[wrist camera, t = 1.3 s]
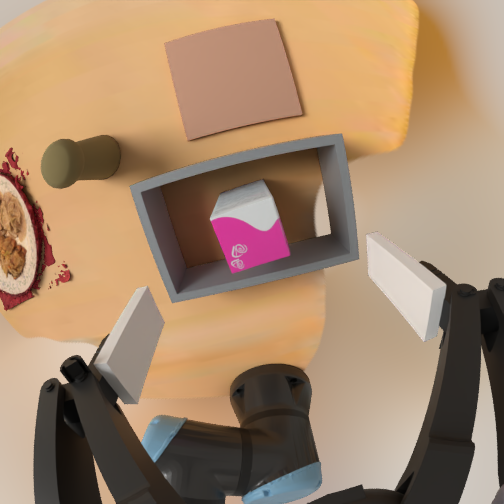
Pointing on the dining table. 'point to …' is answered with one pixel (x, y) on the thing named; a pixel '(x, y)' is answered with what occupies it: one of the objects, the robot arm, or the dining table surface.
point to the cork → (80, 160)
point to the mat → (232, 78)
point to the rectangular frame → (299, 262)
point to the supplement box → (249, 227)
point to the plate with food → (20, 240)
